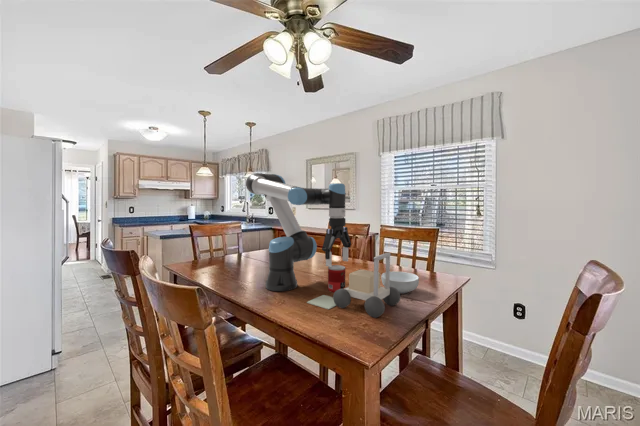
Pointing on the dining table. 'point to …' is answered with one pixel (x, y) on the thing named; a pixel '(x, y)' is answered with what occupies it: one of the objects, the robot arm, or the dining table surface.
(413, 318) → the dining table surface
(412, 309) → the dining table surface
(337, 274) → the canned food
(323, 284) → the dining table surface
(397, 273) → the cereal bowl
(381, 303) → the trolley
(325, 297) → the mat
